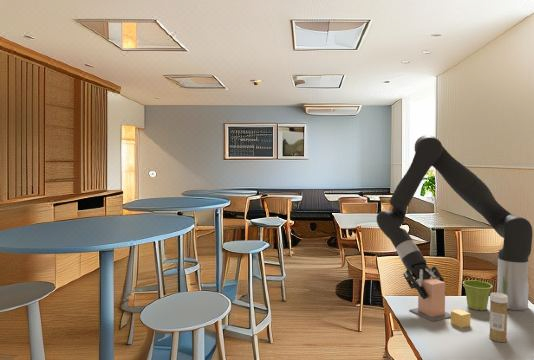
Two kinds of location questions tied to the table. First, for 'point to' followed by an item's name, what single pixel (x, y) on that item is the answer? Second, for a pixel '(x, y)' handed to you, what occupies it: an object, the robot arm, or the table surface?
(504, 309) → the spice jar
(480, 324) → the table surface
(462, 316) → the ochre block
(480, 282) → the plant pot
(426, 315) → the gray mat
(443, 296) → the tall peach pillar
